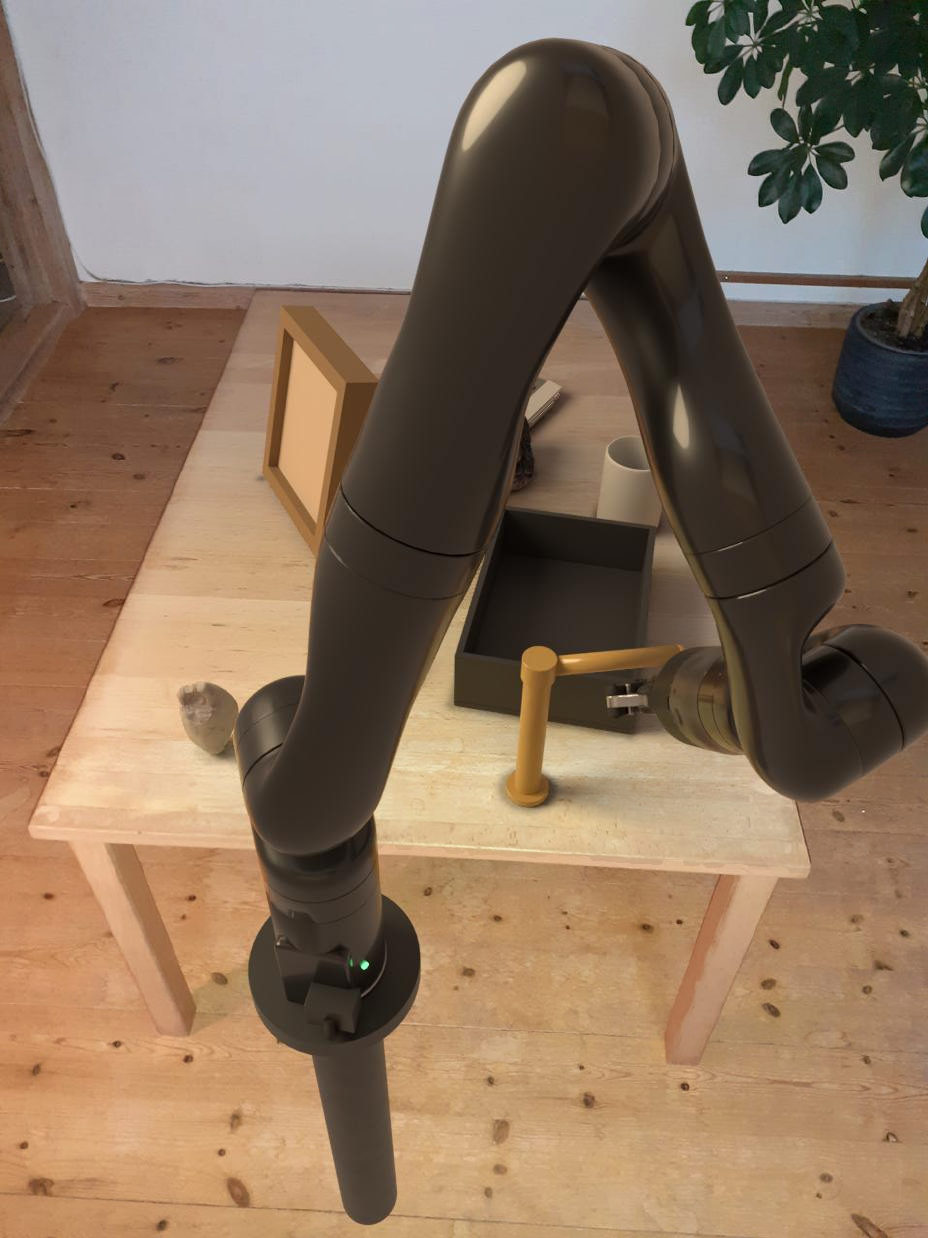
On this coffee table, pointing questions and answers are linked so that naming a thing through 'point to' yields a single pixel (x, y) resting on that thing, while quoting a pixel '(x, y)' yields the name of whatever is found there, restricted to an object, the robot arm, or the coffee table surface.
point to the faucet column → (530, 750)
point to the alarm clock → (541, 399)
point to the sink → (555, 611)
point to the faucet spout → (588, 662)
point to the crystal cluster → (524, 460)
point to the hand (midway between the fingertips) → (649, 690)
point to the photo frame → (313, 417)
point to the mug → (628, 484)
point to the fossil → (207, 715)
